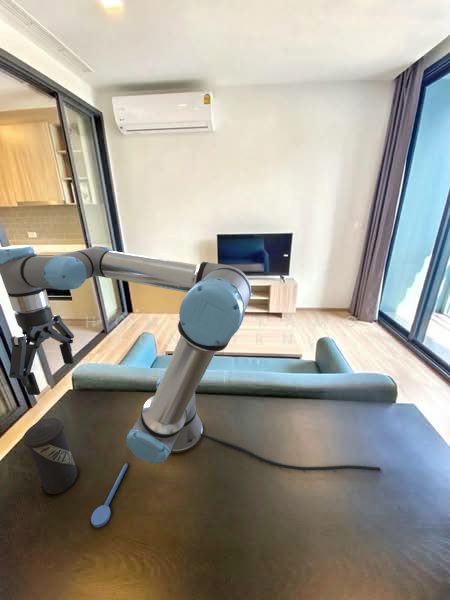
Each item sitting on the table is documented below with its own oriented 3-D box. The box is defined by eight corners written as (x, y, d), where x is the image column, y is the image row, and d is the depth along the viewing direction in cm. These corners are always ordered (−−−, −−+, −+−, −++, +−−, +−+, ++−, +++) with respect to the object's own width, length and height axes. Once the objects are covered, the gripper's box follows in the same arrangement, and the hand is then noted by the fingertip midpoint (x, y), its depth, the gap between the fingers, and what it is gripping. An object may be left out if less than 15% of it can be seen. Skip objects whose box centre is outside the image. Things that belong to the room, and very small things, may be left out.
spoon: (120, 464, 76) (119, 461, 76) (134, 466, 76) (133, 463, 75) (87, 526, 61) (86, 523, 61) (104, 528, 61) (103, 525, 60)
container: (62, 499, 67) (42, 445, 60) (34, 492, 69) (12, 438, 62) (85, 468, 75) (70, 417, 68) (60, 462, 77) (42, 412, 70)
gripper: (53, 292, 75) (69, 352, 83) (-33, 330, 52) (0, 410, 59) (77, 292, 75) (91, 353, 82) (0, 331, 51) (30, 411, 59)
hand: (53, 377), depth 71 cm, fingers open, 13 cm apart
